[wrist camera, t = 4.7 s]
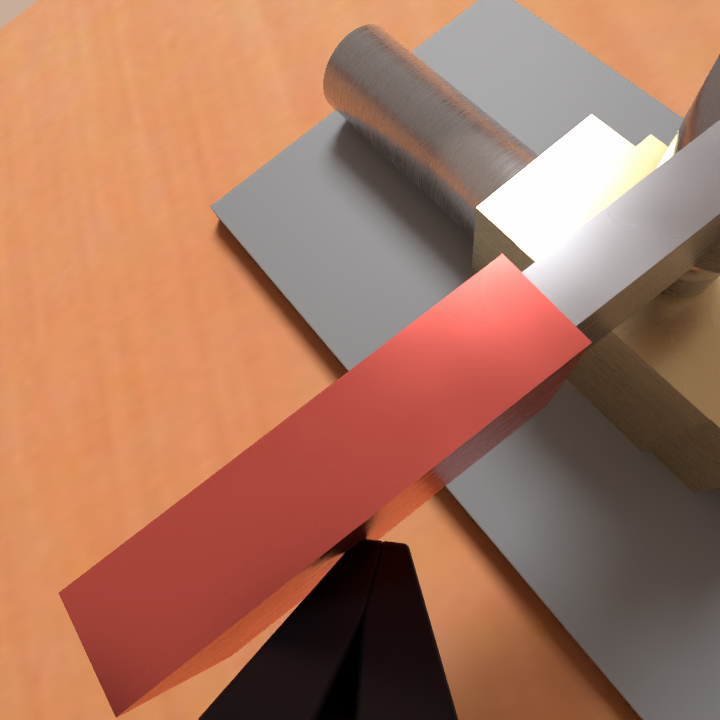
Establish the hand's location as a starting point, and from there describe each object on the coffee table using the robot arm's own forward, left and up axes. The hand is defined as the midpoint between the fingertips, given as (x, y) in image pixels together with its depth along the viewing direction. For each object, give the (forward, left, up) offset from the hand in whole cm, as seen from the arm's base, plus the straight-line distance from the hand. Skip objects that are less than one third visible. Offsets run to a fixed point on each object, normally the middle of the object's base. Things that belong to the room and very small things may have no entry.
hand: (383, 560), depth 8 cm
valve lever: (+4, +1, -1) cm, 4 cm away
